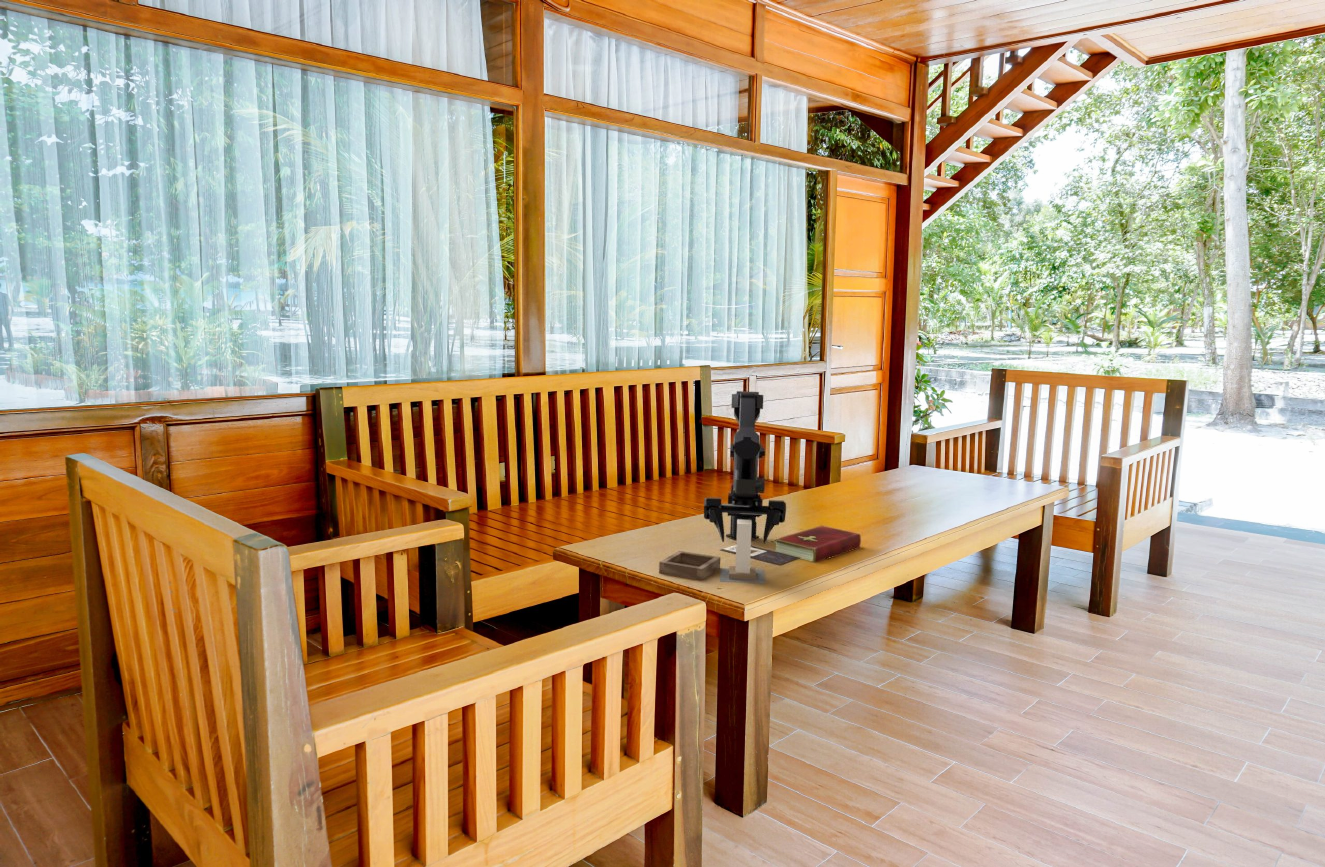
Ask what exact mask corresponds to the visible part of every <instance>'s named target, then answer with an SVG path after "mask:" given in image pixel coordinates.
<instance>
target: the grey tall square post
mask: <svg viewBox="0 0 1325 867" xmlns="http://www.w3.org/2000/svg"><path fill="white" fill-rule="evenodd" d="M751 528H752V520H742V519H737V540H736V544H735V545H736V554H735V565H729V579H740V580H756V570H757V569H756V568H757V567H756V566H751V558H750V554H751V546H752V540H751Z"/></svg>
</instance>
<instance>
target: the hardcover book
mask: <svg viewBox="0 0 1325 867" xmlns="http://www.w3.org/2000/svg"><path fill="white" fill-rule="evenodd" d="M861 536H862V535H861V534H860V533H859V532H853V531H849V530H845V529H841V528H840V529H839V528H836V527H831V526H826V525H818V526H814V527H812V528H808V529H804V530H802V531H797V532H794V533H792V534H788V535H784V536H781V537H778V538H775V539H774V542H775V544H776V545H775V551H776V552H780V553H784V554H787V555H791V556H795V557H799V559H802V560H805V561H810V562H812V563H815V562H818V561H822V560H827V558H828V559H830V558H829V557H831V558H833V557H832V556H834V557H836V556H839V555H841V554H844V552H845V553H848V552H850V551H849V550H851V551H853V550H852V549H854V550H856V549H855V548H857V549H859V548H860V547H861V545H862V544H861V543H862V537H861ZM858 547H859V548H858ZM847 551H848V552H847ZM835 555H836V556H835Z"/></svg>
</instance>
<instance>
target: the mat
mask: <svg viewBox="0 0 1325 867" xmlns="http://www.w3.org/2000/svg"><path fill="white" fill-rule="evenodd" d="M765 576H766V575H765V570H764V569H756V580H740V579H729V568H727V567H720V574H719V582H720V583H722V582H723V583H739V584H740V583H744V584H761V585H763V584H764V585H765V584H766V577H765Z"/></svg>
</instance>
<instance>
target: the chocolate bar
mask: <svg viewBox="0 0 1325 867" xmlns="http://www.w3.org/2000/svg"><path fill="white" fill-rule="evenodd" d="M719 551H721V552H725V553H729V554H733V555H736V544H734V545H732V546H728V547H725V548H722V549H719ZM750 559H753V560H756V561H760V562H763V563H768V564H772V565H775V566H784V565H786V564H788V563H791V562H794V561H796V560H799V559H800V558H799V557H795V556H791V555H787V554H784V553H780V552H776V550H772V549H771V550H770V549H766V548H762V547H758V546H754V545H751V554H750Z"/></svg>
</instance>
